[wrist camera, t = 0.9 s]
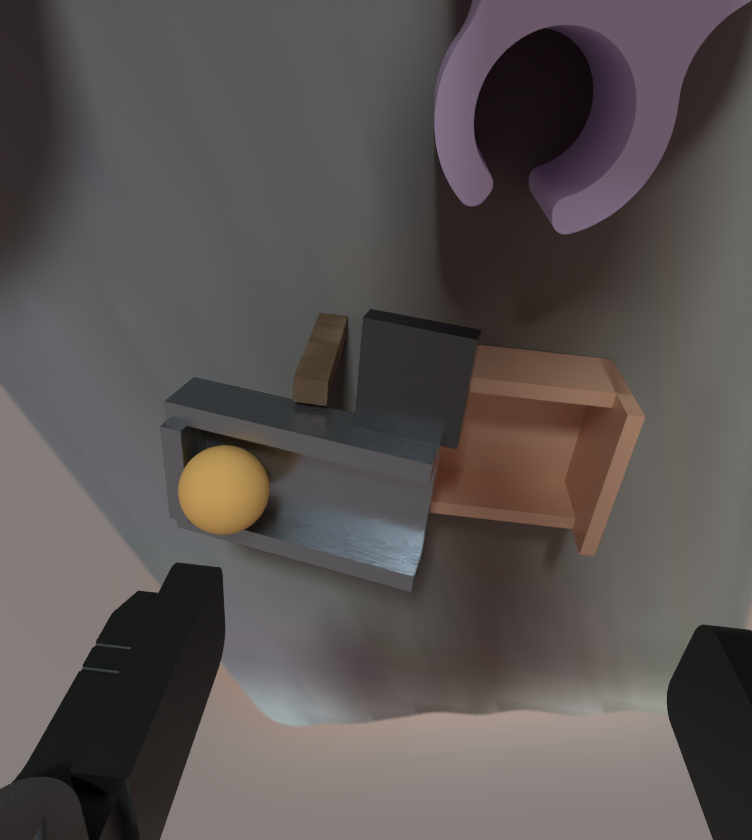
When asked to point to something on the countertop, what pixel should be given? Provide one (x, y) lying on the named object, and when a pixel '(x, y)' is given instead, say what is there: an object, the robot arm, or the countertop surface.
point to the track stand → (320, 360)
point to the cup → (541, 443)
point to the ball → (223, 489)
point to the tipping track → (341, 450)
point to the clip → (612, 96)
